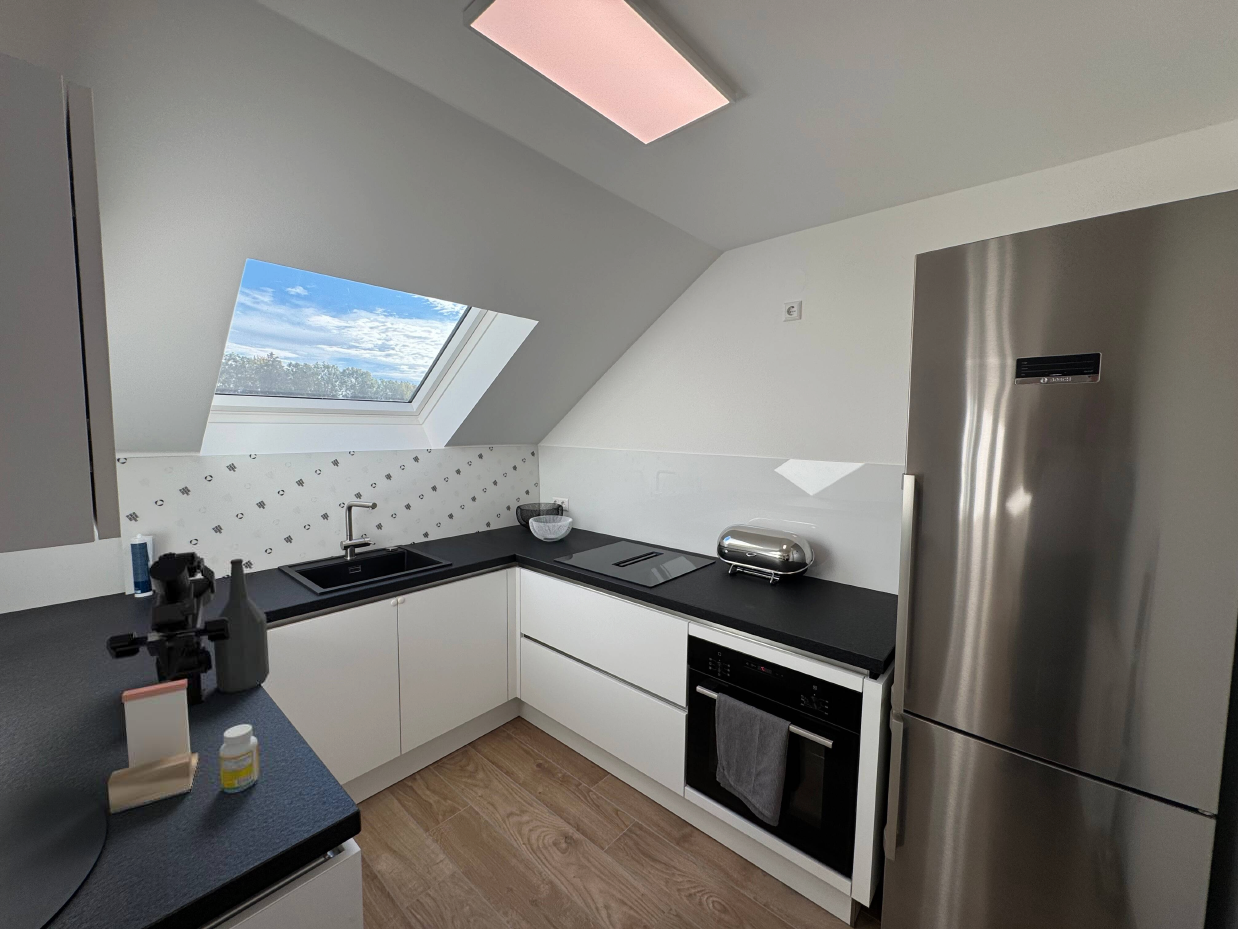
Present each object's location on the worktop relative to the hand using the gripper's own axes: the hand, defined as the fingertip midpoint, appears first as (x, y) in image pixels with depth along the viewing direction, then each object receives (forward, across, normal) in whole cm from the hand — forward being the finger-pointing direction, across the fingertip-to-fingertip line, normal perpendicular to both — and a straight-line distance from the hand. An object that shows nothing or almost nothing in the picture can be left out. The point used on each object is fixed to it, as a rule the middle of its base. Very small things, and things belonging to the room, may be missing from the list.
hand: (169, 677), depth 104 cm
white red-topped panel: (+16, 0, -1) cm, 16 cm away
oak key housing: (+20, 0, -2) cm, 20 cm away
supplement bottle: (+25, +12, -7) cm, 29 cm away
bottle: (-6, +10, +24) cm, 26 cm away
